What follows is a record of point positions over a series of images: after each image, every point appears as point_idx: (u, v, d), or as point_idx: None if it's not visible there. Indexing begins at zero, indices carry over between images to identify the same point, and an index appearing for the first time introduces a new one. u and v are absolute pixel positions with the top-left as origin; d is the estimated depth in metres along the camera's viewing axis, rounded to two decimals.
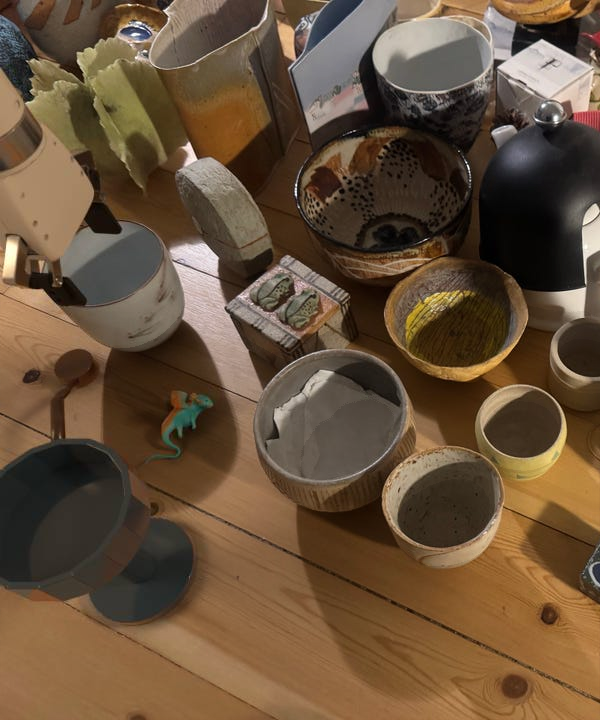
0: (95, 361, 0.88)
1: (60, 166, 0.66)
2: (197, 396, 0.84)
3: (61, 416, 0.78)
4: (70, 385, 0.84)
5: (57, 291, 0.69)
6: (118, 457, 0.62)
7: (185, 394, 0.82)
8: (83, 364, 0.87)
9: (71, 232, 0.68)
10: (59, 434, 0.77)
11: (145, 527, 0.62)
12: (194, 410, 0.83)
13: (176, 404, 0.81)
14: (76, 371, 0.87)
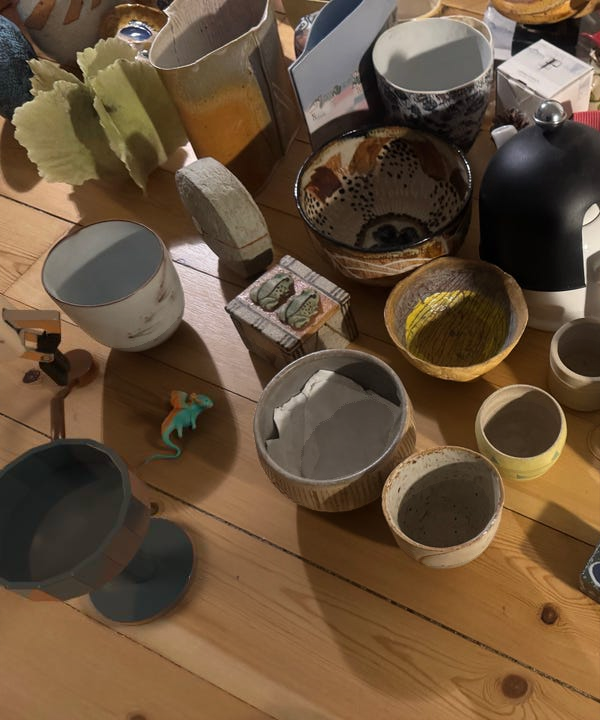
0: (95, 361, 0.88)
1: None
2: (197, 396, 0.84)
3: (61, 416, 0.78)
4: (70, 385, 0.84)
5: None
6: (118, 457, 0.62)
7: (185, 394, 0.82)
8: (83, 364, 0.87)
9: None
10: (59, 434, 0.77)
11: (145, 527, 0.62)
12: (194, 410, 0.83)
13: (176, 404, 0.81)
14: (76, 371, 0.87)
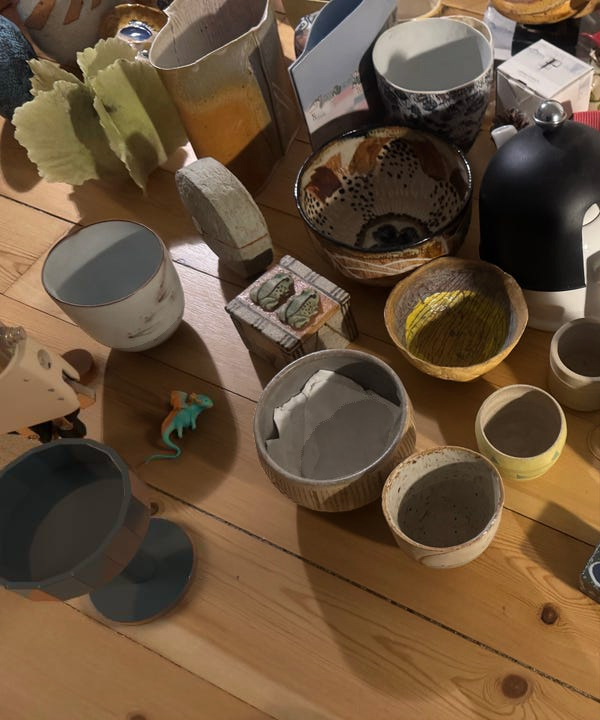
0: (95, 361, 0.88)
1: (23, 394, 0.68)
2: (197, 396, 0.84)
3: None
4: None
5: None
6: (118, 457, 0.62)
7: (185, 394, 0.82)
8: (83, 364, 0.87)
9: (17, 427, 0.72)
10: (58, 434, 0.77)
11: (145, 527, 0.62)
12: (194, 410, 0.83)
13: (176, 404, 0.81)
14: None
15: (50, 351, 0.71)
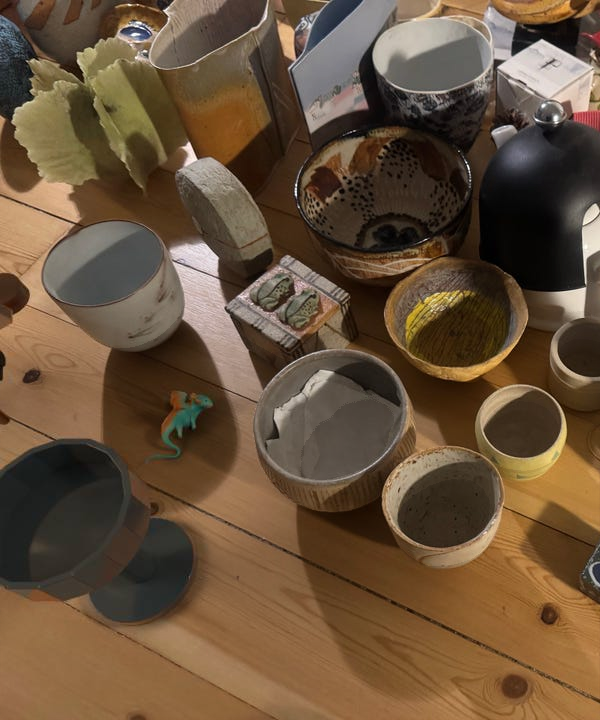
0: (24, 287, 0.76)
1: None
2: (197, 396, 0.84)
3: None
4: None
5: None
6: (118, 457, 0.62)
7: (185, 394, 0.82)
8: (9, 289, 0.75)
9: None
10: None
11: (145, 527, 0.62)
12: (194, 410, 0.83)
13: (176, 404, 0.81)
14: (0, 297, 0.74)
15: None
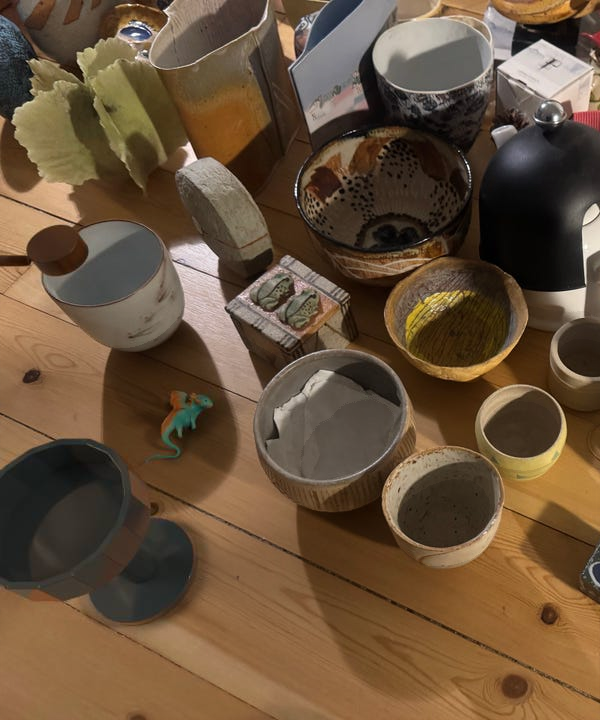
0: (69, 261, 0.64)
1: None
2: (197, 396, 0.84)
3: None
4: None
5: None
6: (118, 457, 0.62)
7: (185, 394, 0.82)
8: (52, 253, 0.64)
9: None
10: None
11: (145, 527, 0.62)
12: (194, 411, 0.83)
13: (176, 404, 0.81)
14: (40, 252, 0.64)
15: None
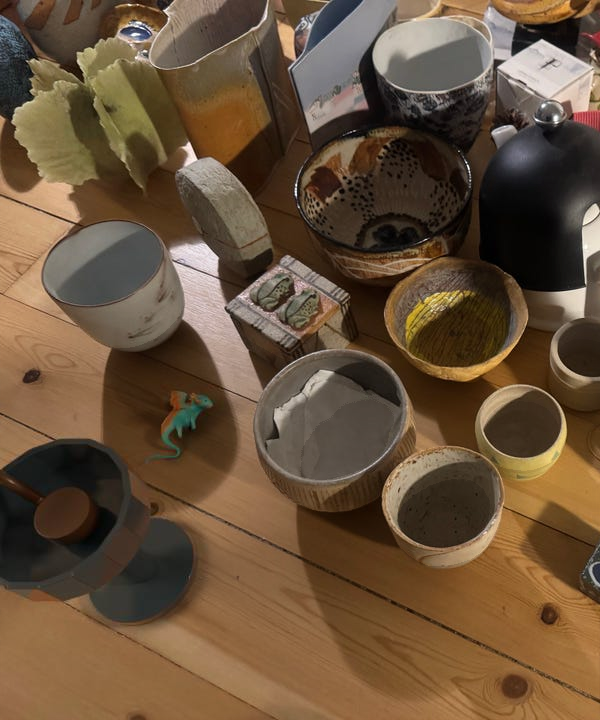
0: (48, 539, 0.60)
1: None
2: (197, 396, 0.84)
3: None
4: (8, 487, 0.60)
5: None
6: (118, 457, 0.62)
7: (185, 394, 0.82)
8: (46, 522, 0.60)
9: None
10: None
11: (145, 527, 0.62)
12: (194, 411, 0.83)
13: (176, 404, 0.81)
14: (47, 509, 0.60)
15: None
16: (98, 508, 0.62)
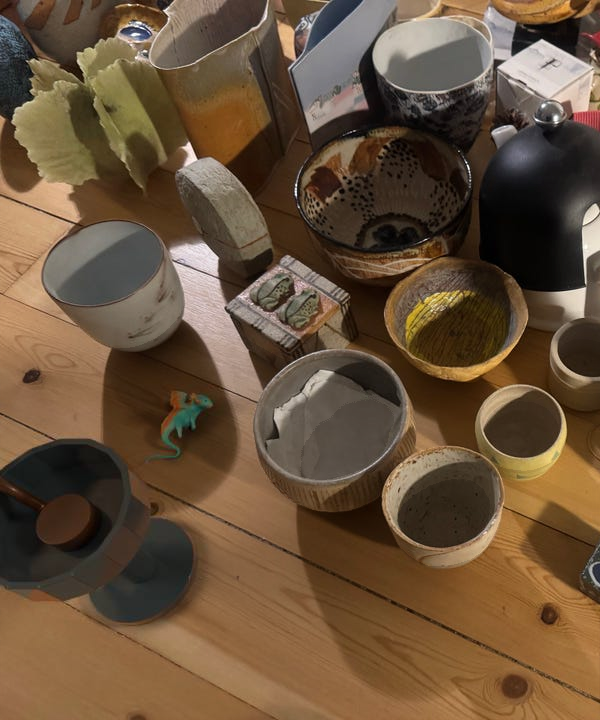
0: (50, 545, 0.61)
1: None
2: (197, 396, 0.84)
3: None
4: (11, 495, 0.61)
5: None
6: (118, 457, 0.62)
7: (185, 394, 0.82)
8: (48, 528, 0.61)
9: None
10: None
11: (145, 527, 0.62)
12: (193, 411, 0.83)
13: (176, 404, 0.81)
14: (49, 516, 0.61)
15: None
16: (99, 514, 0.63)
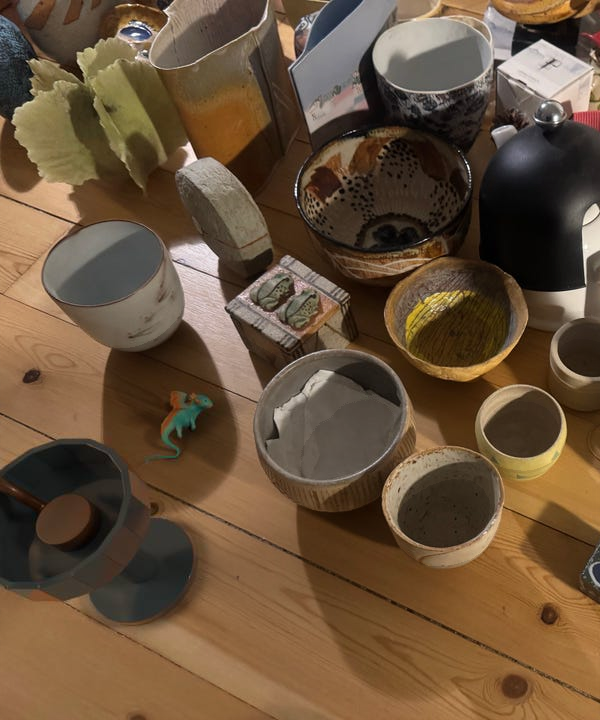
0: (50, 545, 0.61)
1: None
2: (196, 396, 0.84)
3: None
4: (11, 495, 0.61)
5: None
6: (118, 457, 0.62)
7: (184, 394, 0.82)
8: (48, 528, 0.61)
9: None
10: None
11: (145, 527, 0.62)
12: (193, 411, 0.83)
13: (175, 404, 0.81)
14: (49, 516, 0.61)
15: None
16: (99, 514, 0.63)
